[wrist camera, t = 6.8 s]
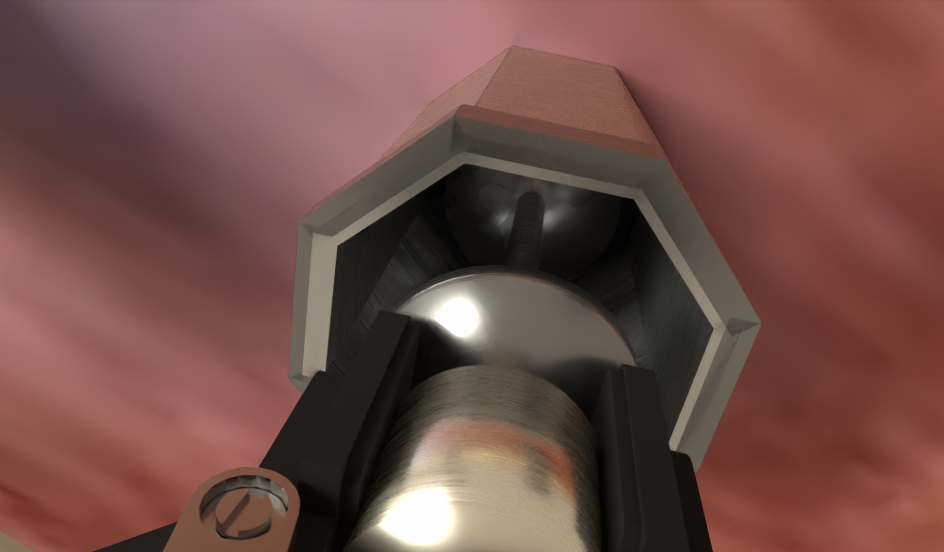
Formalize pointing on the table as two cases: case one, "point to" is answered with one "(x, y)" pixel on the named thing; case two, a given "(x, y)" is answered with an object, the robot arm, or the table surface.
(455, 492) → the plunger
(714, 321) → the press carafe
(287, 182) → the table surface
